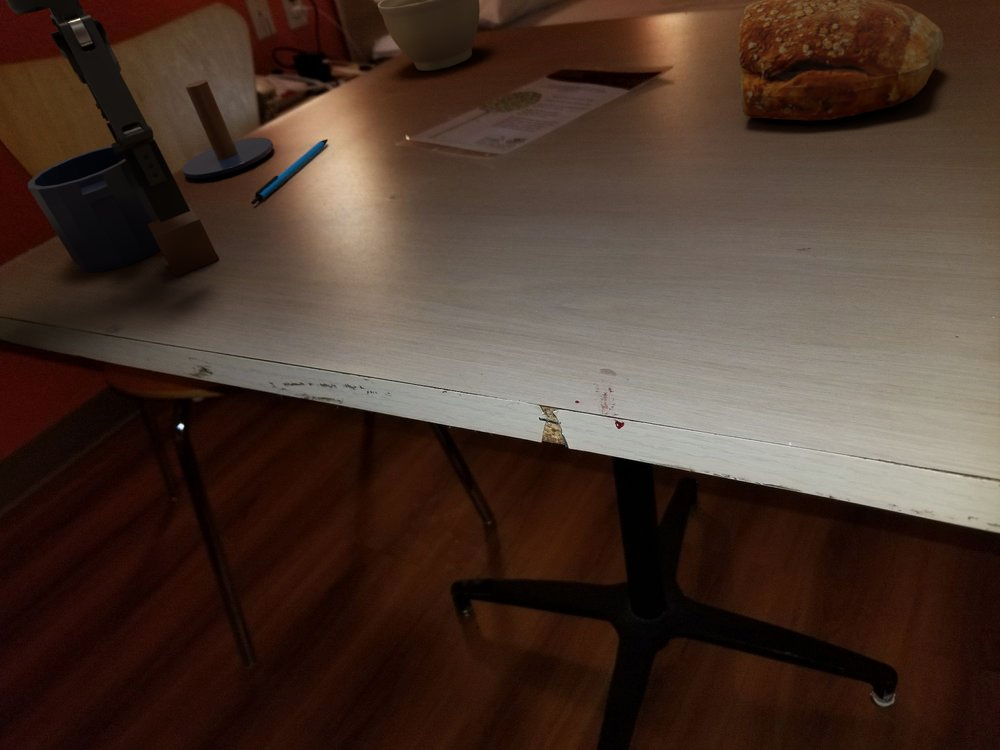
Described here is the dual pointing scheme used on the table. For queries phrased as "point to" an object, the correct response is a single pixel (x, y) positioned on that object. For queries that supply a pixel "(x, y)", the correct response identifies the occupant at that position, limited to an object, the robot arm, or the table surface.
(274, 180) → the pen
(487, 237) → the table surface
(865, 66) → the bread
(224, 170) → the lid
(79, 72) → the robot arm
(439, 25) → the planter bowl
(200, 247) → the block
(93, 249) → the pot
